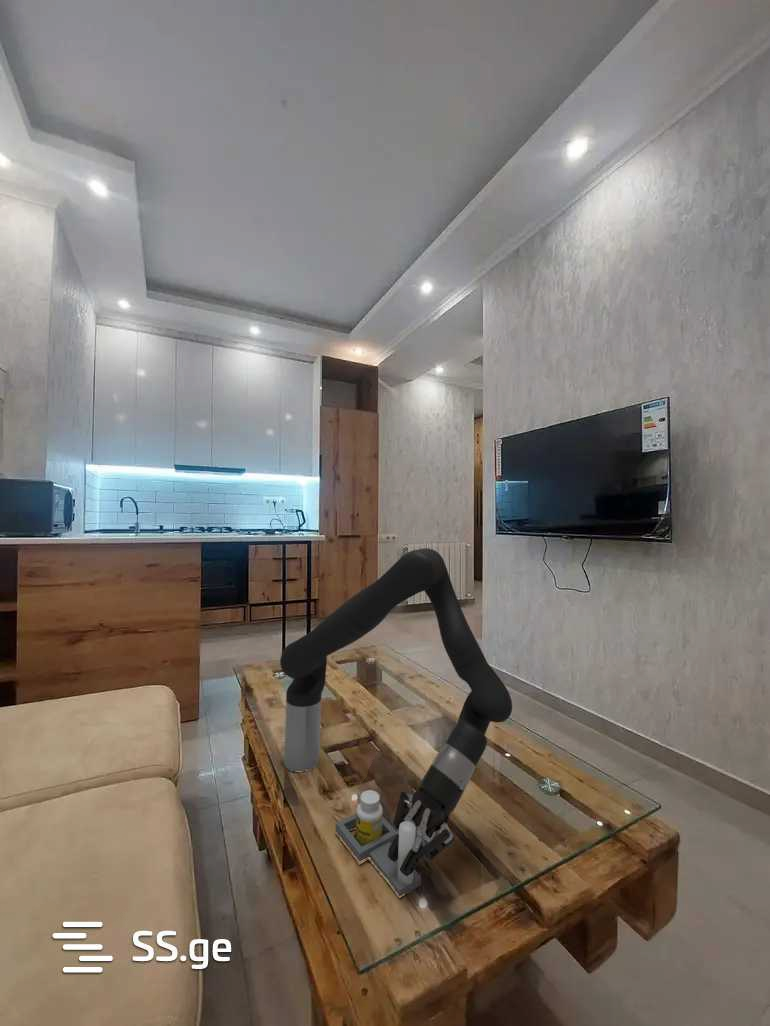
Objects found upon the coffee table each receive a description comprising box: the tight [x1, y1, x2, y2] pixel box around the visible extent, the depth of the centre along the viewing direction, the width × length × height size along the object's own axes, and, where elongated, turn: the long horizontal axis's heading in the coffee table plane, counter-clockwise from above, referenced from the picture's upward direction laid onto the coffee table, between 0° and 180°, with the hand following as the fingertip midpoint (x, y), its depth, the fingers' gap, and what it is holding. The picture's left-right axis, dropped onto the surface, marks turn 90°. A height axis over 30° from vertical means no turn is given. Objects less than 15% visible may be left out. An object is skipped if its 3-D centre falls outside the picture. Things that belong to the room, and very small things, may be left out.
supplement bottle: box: [355, 789, 384, 847], centre depth 89 cm, size 5×5×10 cm
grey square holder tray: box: [334, 813, 422, 896], centre depth 85 cm, size 19×9×11 cm, turn 36°
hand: (397, 865), depth 77 cm, fingers closed on grey square holder tray, 3 cm apart
